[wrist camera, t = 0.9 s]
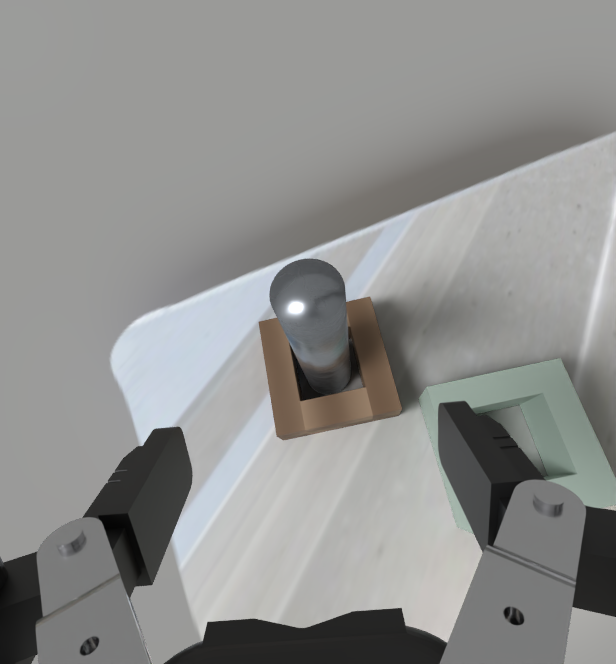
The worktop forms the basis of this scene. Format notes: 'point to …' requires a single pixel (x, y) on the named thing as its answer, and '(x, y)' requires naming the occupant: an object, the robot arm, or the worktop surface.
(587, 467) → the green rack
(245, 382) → the worktop surface
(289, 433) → the walnut socket
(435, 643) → the robot arm
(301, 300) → the ball
